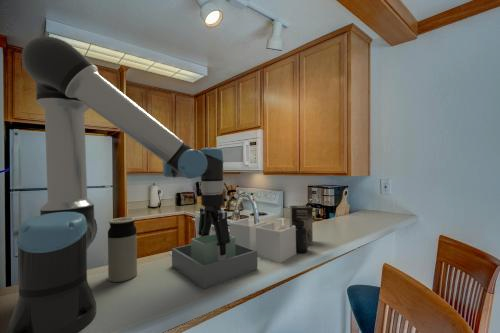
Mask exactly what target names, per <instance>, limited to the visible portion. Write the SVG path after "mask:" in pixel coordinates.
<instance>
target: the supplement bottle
mask: <svg viewBox="0 0 500 333" xmlns="http://www.w3.org/2000/svg"><path fill="white" fill-rule="evenodd" d="M292 226H296V254H306V253H307V252H309V251H308V250H309V245H308V241H307V229H306V228H305V227H304V221H303V220H293V221H292Z"/></svg>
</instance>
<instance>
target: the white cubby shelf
mask: <svg viewBox="0 0 500 333" xmlns="http://www.w3.org/2000/svg"><path fill="white" fill-rule="evenodd" d="M249 219H250V218H242V219H238V220H235V221H232V222H228V223H229V235H230V236H233V237H235V243H237V244H240V245H243V246H245V247H248V248H251V249H254V250H256V251H257V258H258V257H259V258H262V259H266V260H269V261H273V262H277V263H282V262H284V261H286V260H288V259H290V258H292V257H293V256H296V254H297V253H296V226H293V227H290V226H289V227H288V228H285V229H283V230H281V231H279V230H275V227H276V226H275V222H269V223H267V221H265V220H264V221H261V222H259V223H255V224H252V225H250V224H249V223H250V222H249Z"/></svg>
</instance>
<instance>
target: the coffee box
mask: <svg viewBox="0 0 500 333" xmlns="http://www.w3.org/2000/svg"><path fill="white" fill-rule="evenodd" d="M293 220H303V221H304V227H305V228H306V229H307V241H308V246H312V245H313V238H314V237H313V207H312V206H311V205H289V228H290V227H293V226H292V221H293Z"/></svg>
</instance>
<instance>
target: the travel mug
mask: <svg viewBox="0 0 500 333" xmlns="http://www.w3.org/2000/svg"><path fill="white" fill-rule="evenodd" d="M135 220H136V217H131V216H124V217H123V216H122V217H118V218H112V219H110V220H108V223H109V228H108V230H107V266H108V267H107V270H108V272H107V274H108V275H107V276H108V280H109V281H110V282H113V283H121V282H126V281H128V280H131V279H133V278H135V277H136V276H137V275H138V249H137V248H138V246H137V245H138V244H137V242H138V241H137V240H138V238H137V237H138V236H137V227H136V225H135Z"/></svg>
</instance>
